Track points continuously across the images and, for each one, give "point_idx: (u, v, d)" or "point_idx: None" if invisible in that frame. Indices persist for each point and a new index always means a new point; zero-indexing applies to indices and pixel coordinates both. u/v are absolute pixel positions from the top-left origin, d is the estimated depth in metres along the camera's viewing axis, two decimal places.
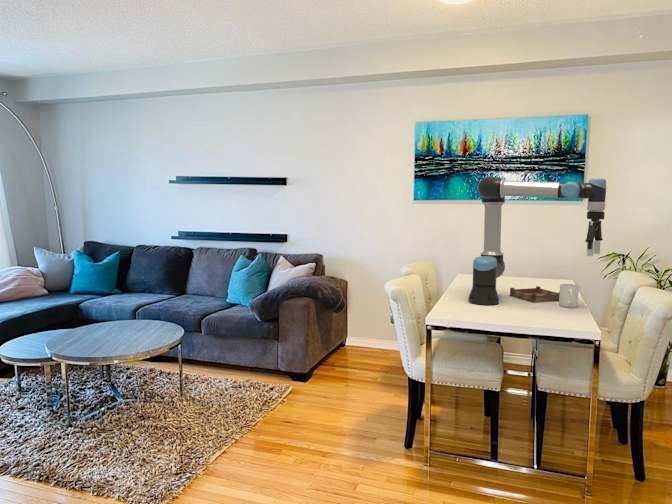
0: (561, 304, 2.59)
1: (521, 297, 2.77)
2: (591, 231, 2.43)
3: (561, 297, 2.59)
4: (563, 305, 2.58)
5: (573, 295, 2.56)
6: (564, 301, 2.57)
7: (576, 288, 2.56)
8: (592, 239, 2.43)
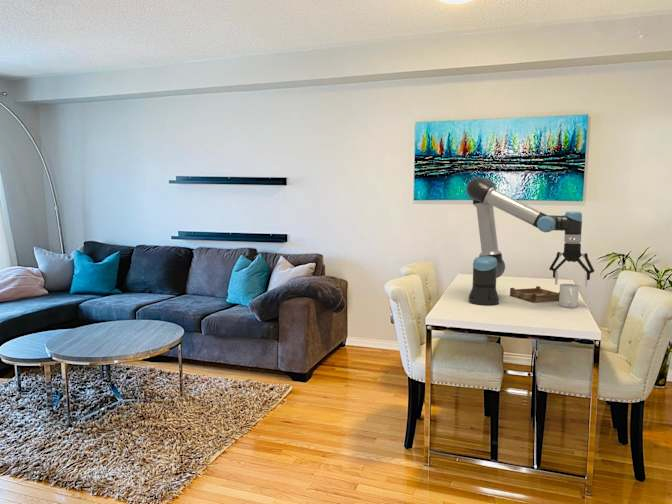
0: (561, 304, 2.59)
1: (521, 297, 2.77)
2: (553, 261, 2.60)
3: (561, 297, 2.59)
4: (563, 305, 2.58)
5: (573, 295, 2.56)
6: (564, 301, 2.57)
7: (576, 288, 2.56)
8: (552, 268, 2.60)
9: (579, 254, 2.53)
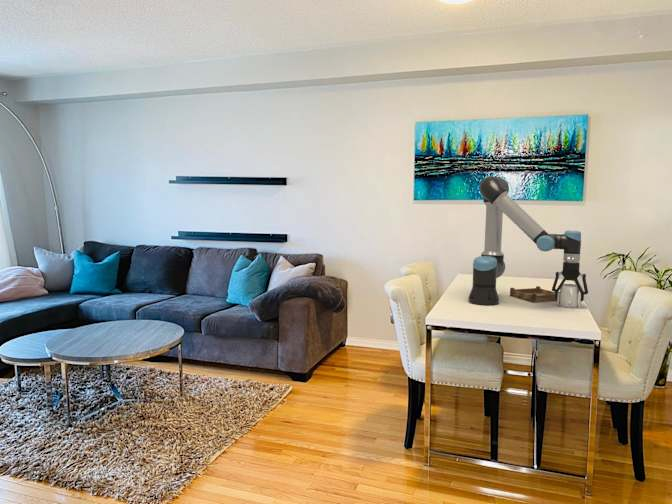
0: (561, 304, 2.59)
1: (521, 297, 2.77)
2: (554, 281, 2.61)
3: (561, 297, 2.59)
4: (563, 305, 2.58)
5: (573, 295, 2.56)
6: (564, 301, 2.57)
7: (576, 288, 2.56)
8: (554, 289, 2.60)
9: (578, 273, 2.54)
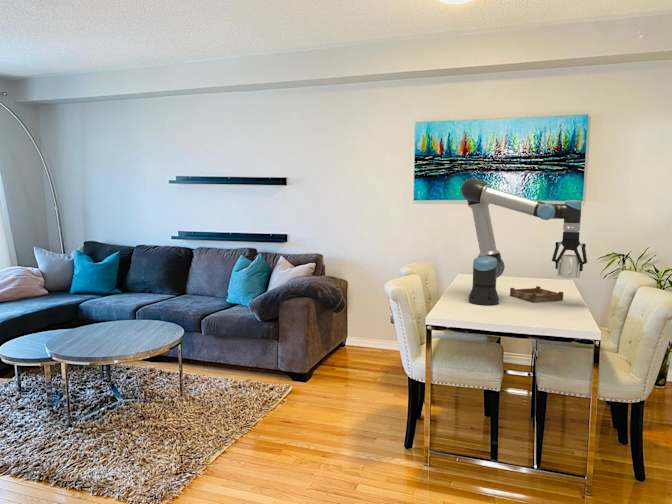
0: (561, 274, 2.58)
1: (521, 297, 2.77)
2: None
3: (562, 267, 2.58)
4: (563, 275, 2.57)
5: (573, 265, 2.55)
6: (564, 271, 2.57)
7: None
8: (554, 259, 2.60)
9: (577, 243, 2.54)
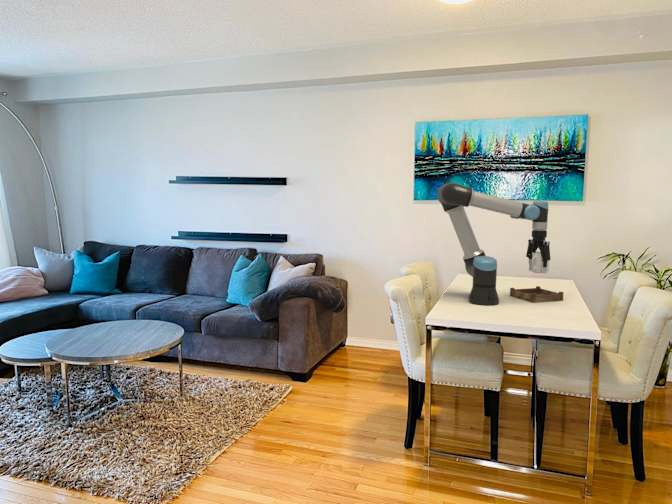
0: None
1: (521, 297, 2.77)
2: None
3: None
4: (532, 270, 2.79)
5: (538, 261, 2.75)
6: (532, 266, 2.79)
7: None
8: (527, 255, 2.83)
9: (541, 240, 2.73)
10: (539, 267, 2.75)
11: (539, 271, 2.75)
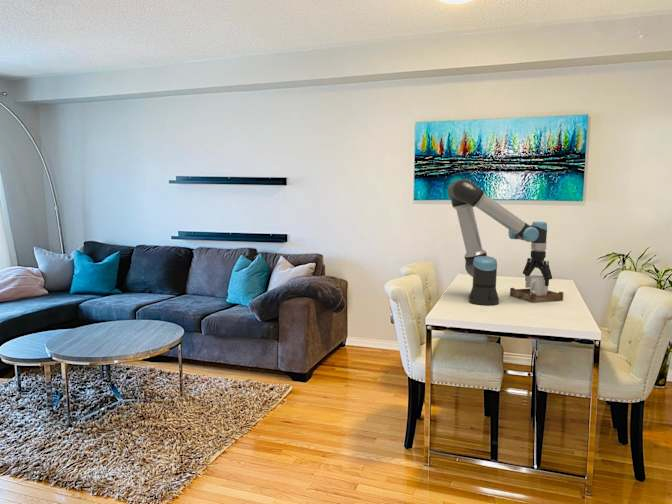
0: None
1: (521, 297, 2.77)
2: None
3: None
4: (530, 294, 2.81)
5: (536, 285, 2.77)
6: (530, 290, 2.80)
7: (540, 279, 2.76)
8: (524, 272, 2.86)
9: (540, 261, 2.74)
10: (537, 291, 2.77)
11: None
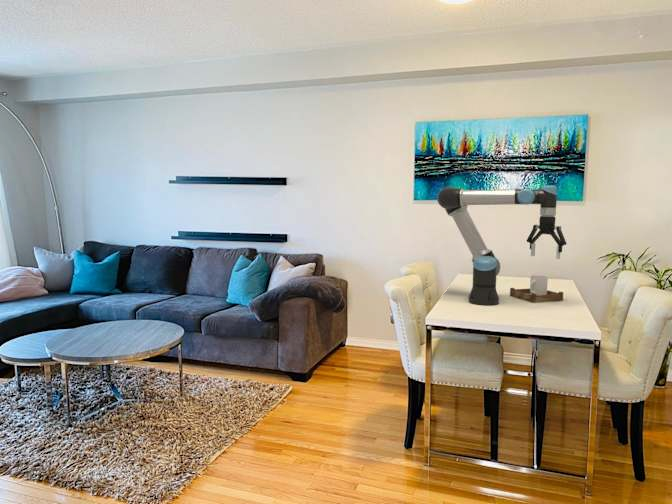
0: None
1: (521, 297, 2.77)
2: None
3: None
4: (530, 294, 2.81)
5: (536, 285, 2.77)
6: (530, 290, 2.80)
7: (540, 279, 2.76)
8: (528, 240, 2.71)
9: (552, 227, 2.61)
10: (537, 291, 2.77)
11: None
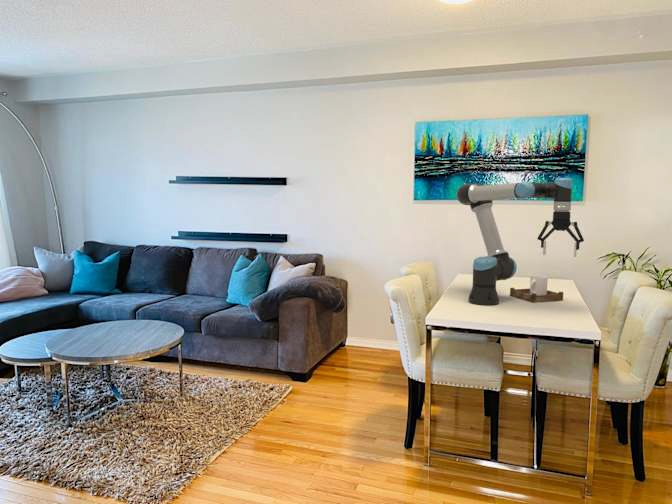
0: None
1: (521, 297, 2.77)
2: (542, 230, 2.49)
3: None
4: (530, 294, 2.81)
5: (536, 285, 2.77)
6: (530, 290, 2.80)
7: (540, 279, 2.76)
8: (540, 238, 2.49)
9: (568, 223, 2.43)
10: (537, 291, 2.77)
11: None
